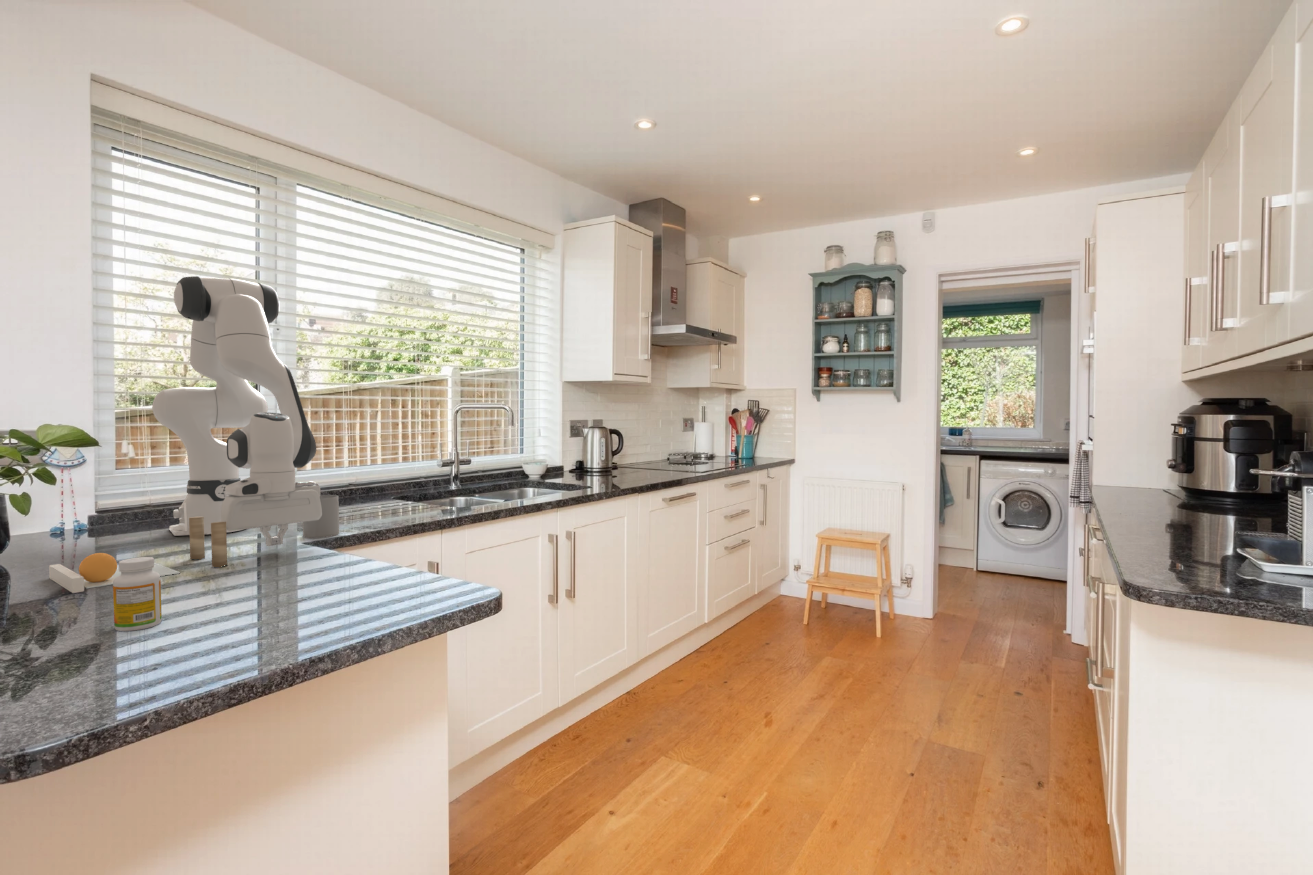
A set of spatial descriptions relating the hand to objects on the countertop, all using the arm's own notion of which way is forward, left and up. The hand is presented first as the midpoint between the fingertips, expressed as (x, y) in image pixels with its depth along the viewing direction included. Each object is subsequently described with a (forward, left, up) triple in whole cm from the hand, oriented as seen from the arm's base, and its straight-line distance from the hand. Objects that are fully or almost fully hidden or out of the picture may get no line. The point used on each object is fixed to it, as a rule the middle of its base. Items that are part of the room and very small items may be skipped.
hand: (274, 544), depth 146 cm
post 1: (-6, -13, -2) cm, 15 cm away
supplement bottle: (+41, -35, -2) cm, 54 cm away
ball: (+2, -31, +1) cm, 32 cm away
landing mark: (0, -27, -2) cm, 27 cm away
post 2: (+6, -13, -2) cm, 14 cm away
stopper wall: (0, -35, -2) cm, 36 cm away
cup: (-14, +17, -2) cm, 22 cm away
